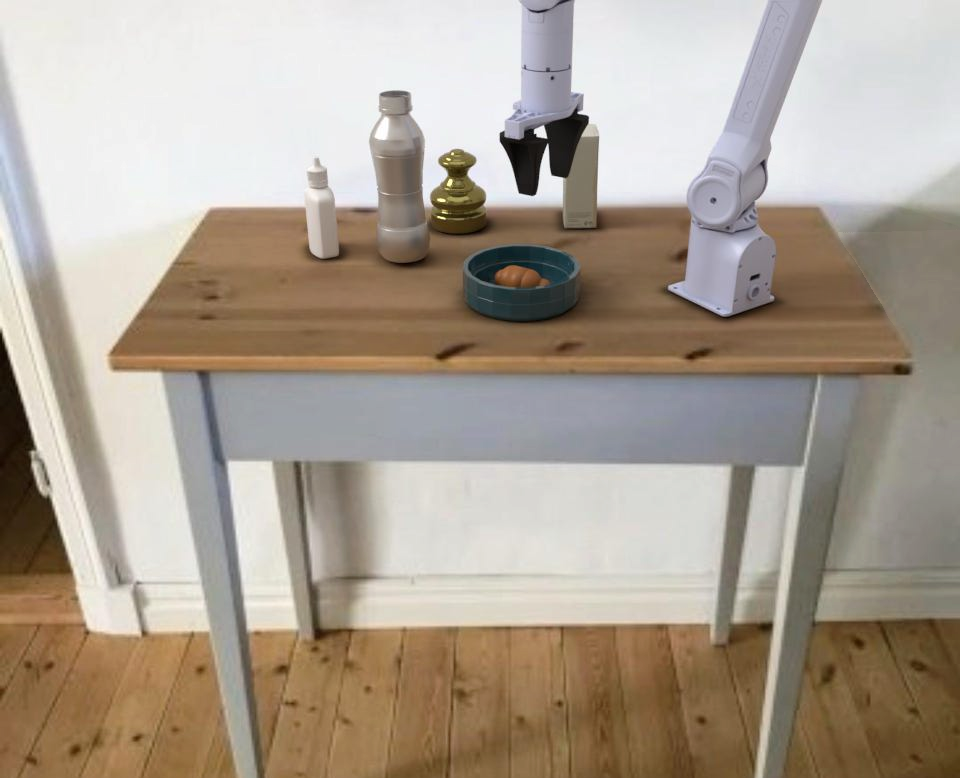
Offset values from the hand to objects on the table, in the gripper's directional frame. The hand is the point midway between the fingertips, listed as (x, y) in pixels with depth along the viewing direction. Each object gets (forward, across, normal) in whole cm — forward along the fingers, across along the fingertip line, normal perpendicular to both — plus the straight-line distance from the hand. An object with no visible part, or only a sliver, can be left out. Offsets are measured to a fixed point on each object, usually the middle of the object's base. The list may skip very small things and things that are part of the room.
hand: (543, 185), depth 127 cm
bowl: (+9, +11, +4) cm, 15 cm away
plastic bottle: (+10, +9, -15) cm, 20 cm away
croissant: (+9, +11, +4) cm, 15 cm away
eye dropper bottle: (+10, +12, -25) cm, 29 cm away
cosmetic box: (+10, -14, -3) cm, 17 cm away
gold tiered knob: (+10, -4, -16) cm, 19 cm away
